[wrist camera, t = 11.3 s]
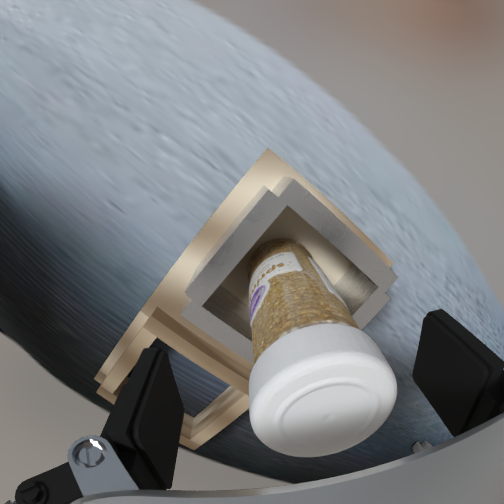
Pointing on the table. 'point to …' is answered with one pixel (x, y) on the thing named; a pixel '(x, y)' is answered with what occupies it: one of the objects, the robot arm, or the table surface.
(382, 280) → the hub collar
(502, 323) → the table surface
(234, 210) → the stand board
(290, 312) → the sprinkles bottle
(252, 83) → the table surface
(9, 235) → the table surface
